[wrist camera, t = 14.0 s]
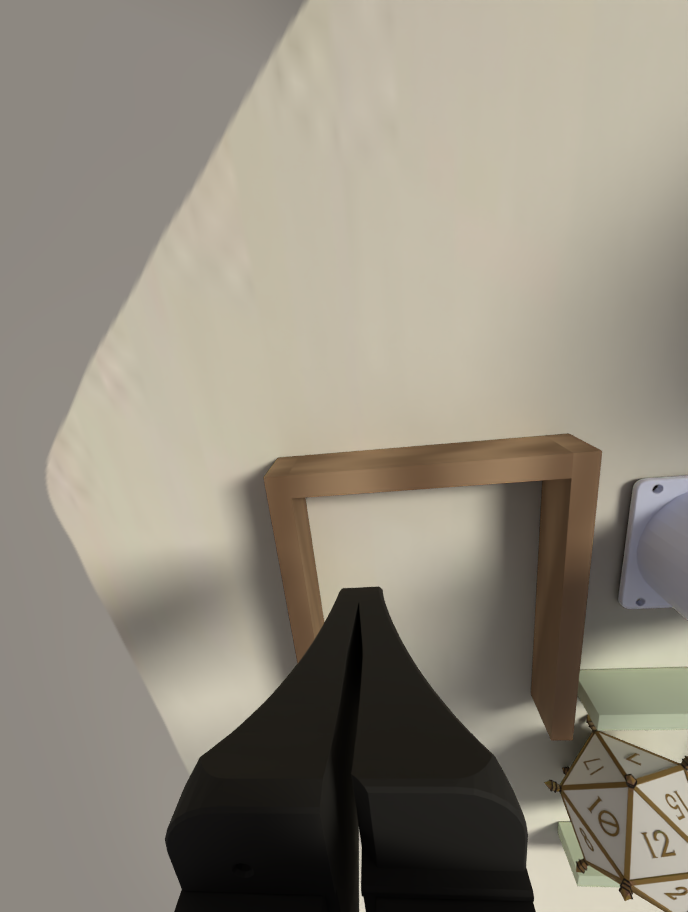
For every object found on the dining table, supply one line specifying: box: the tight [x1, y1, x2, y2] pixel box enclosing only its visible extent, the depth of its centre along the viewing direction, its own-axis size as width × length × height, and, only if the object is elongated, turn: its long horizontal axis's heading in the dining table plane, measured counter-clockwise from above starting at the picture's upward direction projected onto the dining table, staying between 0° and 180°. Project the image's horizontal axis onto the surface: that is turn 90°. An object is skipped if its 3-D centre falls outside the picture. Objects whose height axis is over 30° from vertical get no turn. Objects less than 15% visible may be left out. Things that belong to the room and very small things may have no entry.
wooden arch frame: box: [263, 434, 602, 740], centre depth 22 cm, size 15×18×3 cm
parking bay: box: [558, 667, 688, 887], centre depth 25 cm, size 12×16×3 cm
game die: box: [544, 715, 688, 912], centre depth 23 cm, size 9×8×10 cm
